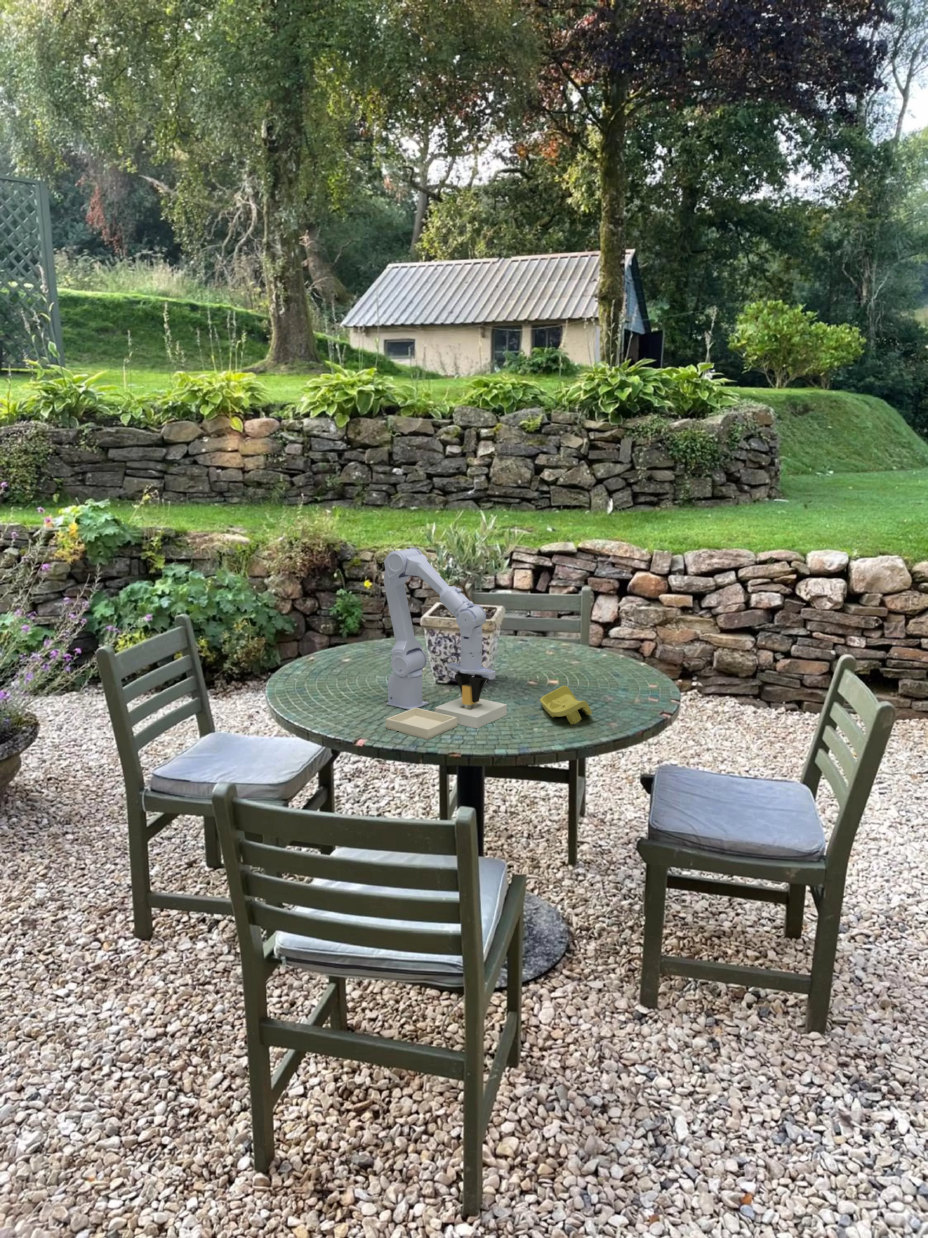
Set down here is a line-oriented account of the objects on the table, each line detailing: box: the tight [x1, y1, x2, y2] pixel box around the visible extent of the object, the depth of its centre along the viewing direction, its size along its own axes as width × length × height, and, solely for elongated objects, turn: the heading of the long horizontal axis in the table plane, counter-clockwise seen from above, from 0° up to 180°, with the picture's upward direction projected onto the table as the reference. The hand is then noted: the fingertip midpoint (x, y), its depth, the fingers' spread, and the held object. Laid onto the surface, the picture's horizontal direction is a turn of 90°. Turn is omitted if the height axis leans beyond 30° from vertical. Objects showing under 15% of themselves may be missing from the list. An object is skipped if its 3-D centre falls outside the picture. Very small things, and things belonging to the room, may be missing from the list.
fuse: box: [461, 683, 479, 710], centre depth 222 cm, size 3×4×8 cm, turn 144°
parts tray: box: [385, 707, 458, 740], centre depth 214 cm, size 14×12×3 cm
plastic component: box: [539, 685, 593, 725], centre depth 223 cm, size 20×7×10 cm
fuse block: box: [434, 696, 508, 729], centre depth 223 cm, size 14×14×3 cm
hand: (470, 700), depth 222 cm, fingers closed on fuse, 3 cm apart
